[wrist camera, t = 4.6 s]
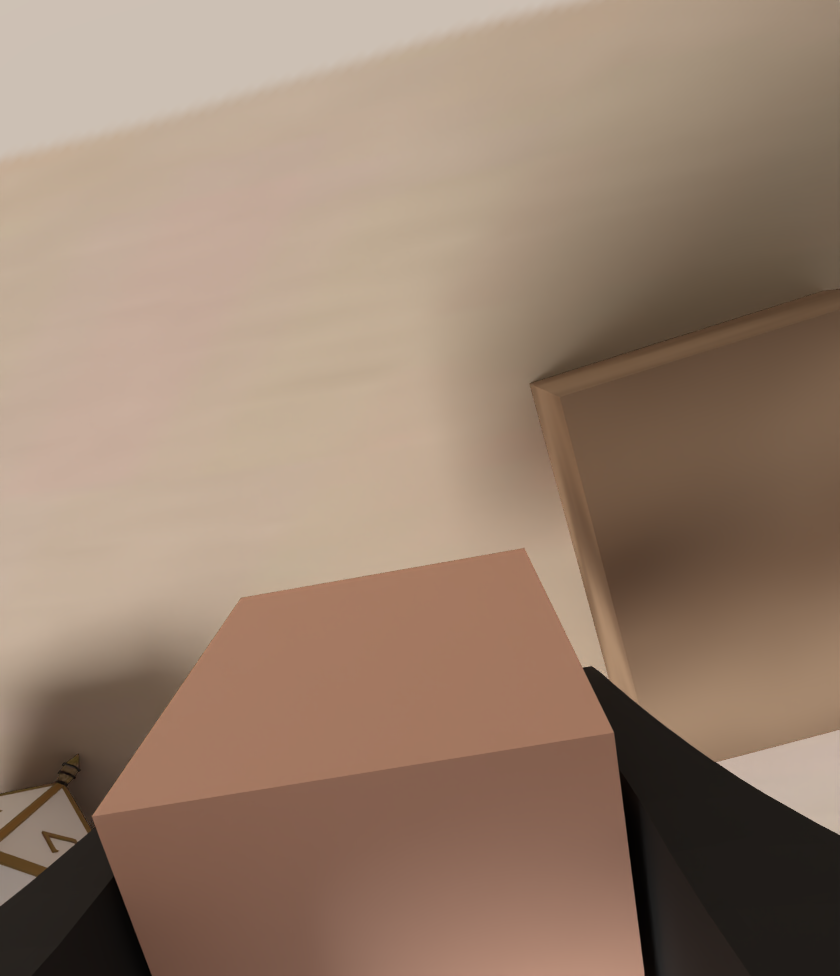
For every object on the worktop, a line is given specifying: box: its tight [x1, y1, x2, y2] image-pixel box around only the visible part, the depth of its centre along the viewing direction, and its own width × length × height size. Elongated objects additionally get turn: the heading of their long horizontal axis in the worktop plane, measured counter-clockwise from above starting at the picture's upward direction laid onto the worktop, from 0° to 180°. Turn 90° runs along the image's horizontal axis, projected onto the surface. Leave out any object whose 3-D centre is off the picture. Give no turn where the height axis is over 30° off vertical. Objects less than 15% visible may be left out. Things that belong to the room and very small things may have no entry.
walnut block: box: [530, 289, 840, 762], centre depth 16 cm, size 10×8×4 cm
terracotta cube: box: [92, 548, 645, 976], centre depth 9 cm, size 5×5×5 cm
